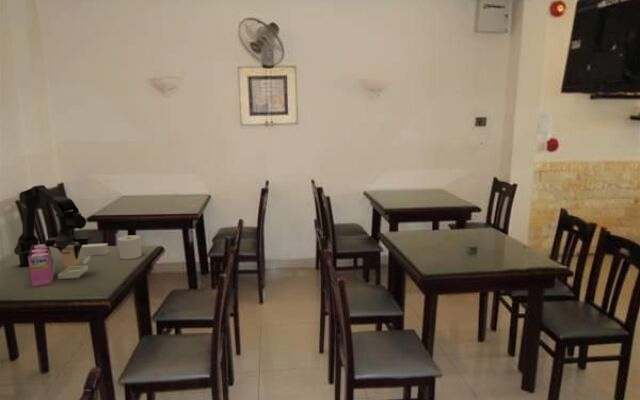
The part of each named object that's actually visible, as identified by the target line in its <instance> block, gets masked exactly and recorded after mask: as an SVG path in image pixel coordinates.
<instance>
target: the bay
mask: <svg viewBox="0 0 640 400" xmlns="http://www.w3.org/2000/svg"><path fill="white" fill-rule="evenodd" d="M108 253H110V251H109V244H108V242H107V243H89V244H88V245H82V247H81V250H80V253H79V254H80V261H82V266H86V264H87V263H89V262H90V261H91V260H92V257H93V255H98V256H106V255H107V254H108Z"/></svg>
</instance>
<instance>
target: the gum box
mask: <svg viewBox="0 0 640 400" xmlns="http://www.w3.org/2000/svg"><path fill="white" fill-rule="evenodd" d="M28 261H29V266H28V267H29V273H30V280H31V281H30V282H31V287H32V288H33V287H39V286H44V285H50V284H51V285H52V284H53V282H54V281H53V280H54V277H55V276H54V275H55V270H56V267H55V262H54V255H53V248H52V246H50V247H46V246H45V243H44V244H43V243H42V244H38V245H36V244H34V245H32V247H31V251H30V254H29V256H28Z"/></svg>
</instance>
